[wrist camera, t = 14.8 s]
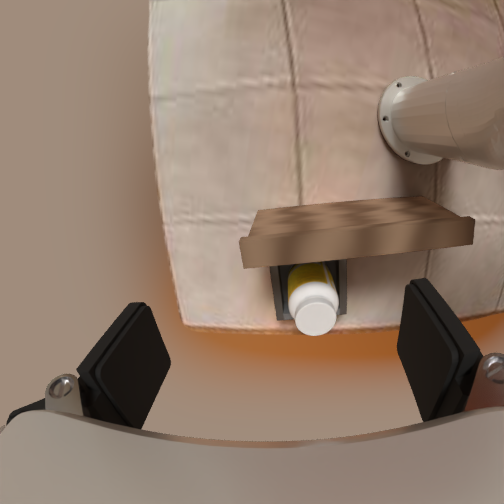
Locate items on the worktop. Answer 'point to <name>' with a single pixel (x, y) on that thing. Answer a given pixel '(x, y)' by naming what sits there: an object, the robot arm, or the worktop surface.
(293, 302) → the pill bottle
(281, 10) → the worktop surface
